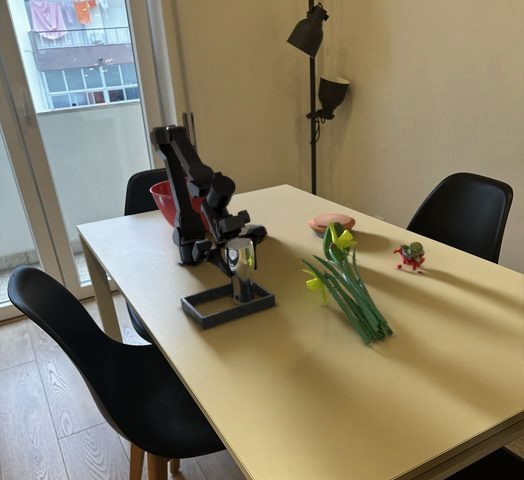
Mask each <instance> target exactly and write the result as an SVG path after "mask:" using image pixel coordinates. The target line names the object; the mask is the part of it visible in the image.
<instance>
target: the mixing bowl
mask: <svg viewBox="0 0 524 480" xmlns="http://www.w3.org/2000/svg"><path fill="white" fill-rule="evenodd" d="M185 180H186V184H187V180H188V176H185ZM187 187H188V185H187ZM188 191H189V190H188ZM149 192H150V193H151V195H152V197H153V200H154V202H155V204H156V206H157V208H158V209H159V211H160V213H161V215H162V216H163V217H164V219H165V220H166V221H167V223H168V224H169V225H170V226H171V227H172V228H173V229H174V228H175V225H174V219H175V216H176V213H177V210H176V206H175V202H174V198H173V195H172V191H171V187H170V183H169V179H168V180H165V181H161V182H158V183H156V184H154V185H152V186H151V187H150V188H149ZM189 195H190V199H191V203H192V207H193V209H194V210H195V211H196V212H197V213H198V212H199V213H200V214H201V218H202V221H203V223H204V225H205V228H206V230H205V232H206V231H210V230H209V229H210V226H209V223H208V221H207V219H206V217H205V214H204V213H202V212H201V204H202V202H203V200H204V199H205V198H206V197H204V198H199V199H195V198H194V197H193V196H192V195H191V194H190V193H189Z"/></svg>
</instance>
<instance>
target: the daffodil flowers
mask: <svg viewBox="0 0 524 480" xmlns="http://www.w3.org/2000/svg"><path fill="white" fill-rule="evenodd" d="M329 225H330V230H331V233H332V239H333V243H331V244H330V247H329V252H330V255H331V257H332V258H333V261H331V260H328V259H324V258H321V257H319V256H318V255H316V254H312V257H313V258H314V259H316V260H317V261H318V262H319V263H321V264H322V265H323V266H324V267H325V268H326V269H327V270H328V271H329V272H331V273H329V272H328V271H326V270H323V272H321V271H320V269H318V268H317V267H316V266H314V265H313V264H311V263H310V262H308V261H307V260H305V259H303V258H300V260H301V261H302V262H301V261H300V264H304V265H305V266H306V267H307V268H308V269H309V270H306V269H301V271H302V272H304V273H306V274H309V275H310V276H312V277H313V279H310V280H307V281H306V283H305V285H306V287H307V288H308V290H309V291H310V292H314V291H319V290H320V293H321V297H322V302H323V305H324V307H326V304H327V293H326V288H327V290H328V292H329V293H330V294H331V296H332V297H333V299H334V300H335V302H336V303H337V305H338V307H340V309H341V310H342V312H343V313H344V315H345V316H346V317H347V318H348V321H349V322H350V324H351V325H352V326H353V328H354V329H355V331H356V332H357V333H358V335H359V336H360V338H361V340H362V341H363V343H364V344H365V345H366V346H368V345H369V344H370V343H371V341H375V340H377V338H380V340H381V341H383V340H385V339H386V338H387V337H388V336H389V337H391V336H392V335H393V334H394V331H393V329H392V328H391V326H390V325H389V324H388V321H387V320H386V318H385V317H384V316H383V314H382V313H381V311H380V310H379V309H378V307H377V306H376V304H375V302H374V300H373V298H372V297H371V295H370V293H369V291H368V289H367V287H366V285H365V283H364V280H363V279H362V276H361V273H360V268H359V267H358V265H357V262H360V261H359V260H358V259H356V253H357V252H356V249H357V248H356V245H357V244H358V242H357V241H355V240H353V235H352V233H351V231H350V232H349V231H347V230H345V232H344V233H343V234H342V235H341V236H340V237H339V238H338V237H337V234H336V232H335V229H334V226H333V223H332V220H331V219H330V224H329ZM349 240H350V241H349ZM352 246H354V248H353V252H352V255H351V254H350V252H349V253H348V252H347V251H346V250H345V249H344V248H346V247H350V248H351V247H352ZM336 248H338V249H340V250H341V251H342V252H343V257H344V261H343V263H342V262H340V260H339V259H338V258H337V256H336V255H335V253H334V251H335V250H336ZM346 253H347V254H348V256H347V255H346ZM350 257H351V259H352V260H351V261H352V266H353V268H354V271H355V274H356V276H355V274H354V273H353V270H352V267H351V265H350V262H349V260H350ZM332 264H333V265H335V266H336V267H337V268H338V269H339V271H340V272H341V273H340V272H339V271H338V270H337V269H336V268H335V267H334V266H333V265H332ZM358 268H359V269H358ZM341 285H342V286H343V287H344V288H345V289H346V290H347V292H348V293H349V294H350V295H351V296H350V295H349V294H348V293H347V292H346V291H345V289H344V288H343V287H342V286H341ZM343 300H344V301H345V302H344V301H343ZM345 303H346V304H345Z"/></svg>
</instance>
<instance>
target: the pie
mask: <svg viewBox="0 0 524 480" xmlns="http://www.w3.org/2000/svg"><path fill="white" fill-rule="evenodd" d="M330 219H331V220H332V222H339V223H341V224H342V226H343V227H344V229H345V230H347V231H349V232H350V233H351V232H352V229H353V228H354V227H355V225H356V223H357V222H356V219H355V218H353V217H351V216H349V215H348V214H343V213H324V214H320V215H317V216H315V217H314V218H312V219H310V220H309V221H308V222H307V226H308V227H309V228H310V229H311V230H312V232H313V233H314V234H315V236H317V237H318V238H322V239H324V235H325V231H326V228H327V226H328V225H329V224H330Z"/></svg>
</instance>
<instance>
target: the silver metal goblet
mask: <svg viewBox="0 0 524 480" xmlns="http://www.w3.org/2000/svg"><path fill="white" fill-rule="evenodd" d="M224 257H225V258H224V259H225V262H226V264H227V266H228V268H229V270H230V273H231V275H232V277H231V278H229V281H230V282H229V283H231V286H232V293H231V294H230V301H231V302H232V303H233V304H234V305H235V304H236V305H241V304H244V303H247V302H250V301H253V300H256V294H255V293H254V290H253V280H254V274H255V270H254V266H255V258H254V250H253V242H252V241H251V240H249V239H245V238H237V239H232V240H229V241H227V242H226V243H225V248H224Z"/></svg>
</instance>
